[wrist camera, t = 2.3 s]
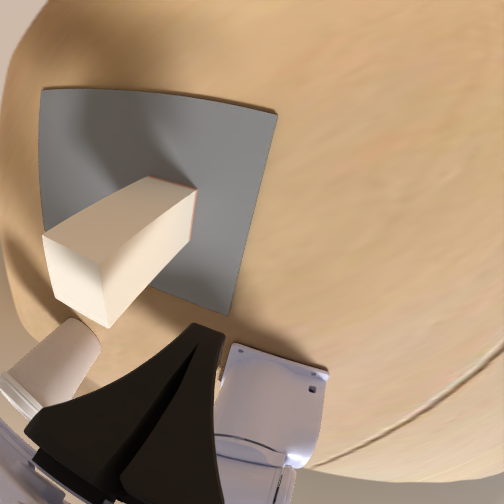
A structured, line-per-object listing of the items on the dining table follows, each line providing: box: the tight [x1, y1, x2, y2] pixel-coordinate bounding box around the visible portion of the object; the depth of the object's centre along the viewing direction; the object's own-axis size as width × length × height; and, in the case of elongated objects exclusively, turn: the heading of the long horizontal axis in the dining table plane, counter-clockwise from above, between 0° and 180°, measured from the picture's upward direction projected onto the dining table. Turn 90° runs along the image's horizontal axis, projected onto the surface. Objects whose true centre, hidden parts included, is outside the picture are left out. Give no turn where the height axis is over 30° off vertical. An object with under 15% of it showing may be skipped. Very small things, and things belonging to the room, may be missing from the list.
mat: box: [38, 89, 278, 316], centre depth 21 cm, size 22×16×1 cm
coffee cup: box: [0, 318, 101, 421], centre depth 27 cm, size 10×10×15 cm
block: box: [42, 176, 198, 329], centre depth 16 cm, size 4×4×10 cm
